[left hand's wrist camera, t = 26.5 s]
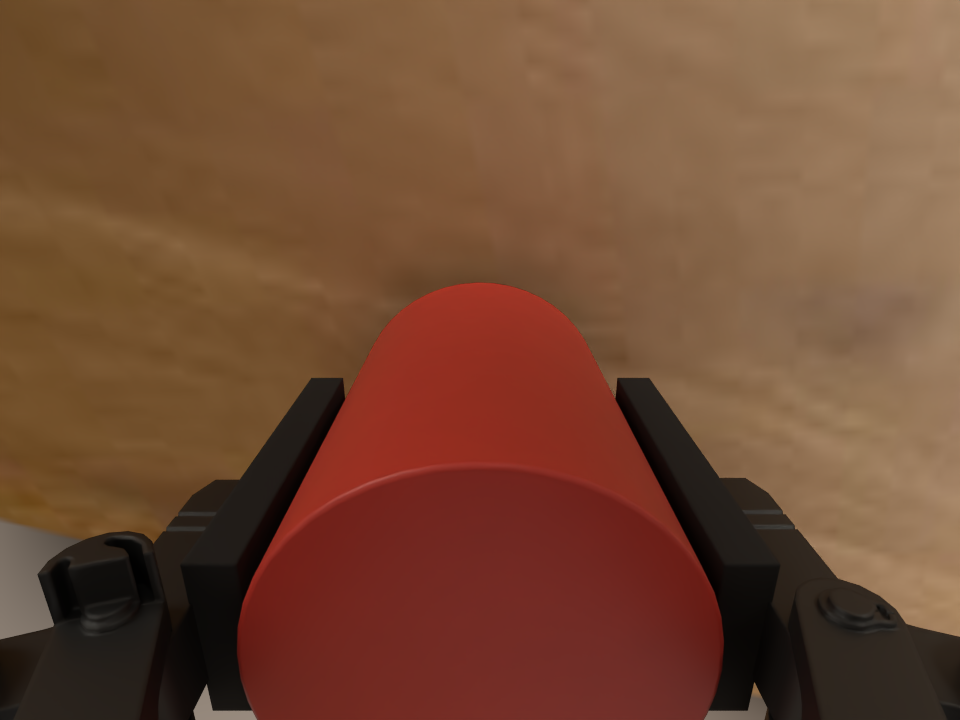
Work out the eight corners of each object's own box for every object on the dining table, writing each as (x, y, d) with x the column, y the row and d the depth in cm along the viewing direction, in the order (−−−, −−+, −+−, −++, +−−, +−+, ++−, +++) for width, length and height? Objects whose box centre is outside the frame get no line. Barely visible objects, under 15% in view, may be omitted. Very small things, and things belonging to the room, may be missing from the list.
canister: (484, 533, 18) (487, 887, 9) (315, 400, 16) (137, 682, 8) (646, 392, 16) (826, 669, 8) (475, 228, 15) (468, 352, 6)
